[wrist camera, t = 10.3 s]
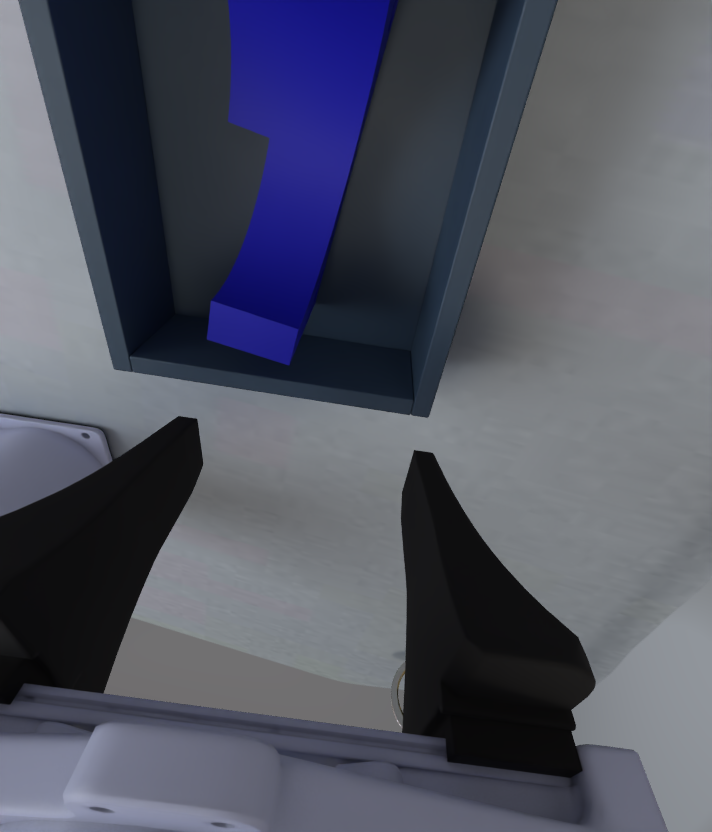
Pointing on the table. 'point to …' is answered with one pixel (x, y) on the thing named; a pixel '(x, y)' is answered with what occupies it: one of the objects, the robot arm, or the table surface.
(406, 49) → the desk bin
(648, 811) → the robot arm
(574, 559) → the table surface
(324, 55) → the blue cradle bracket
